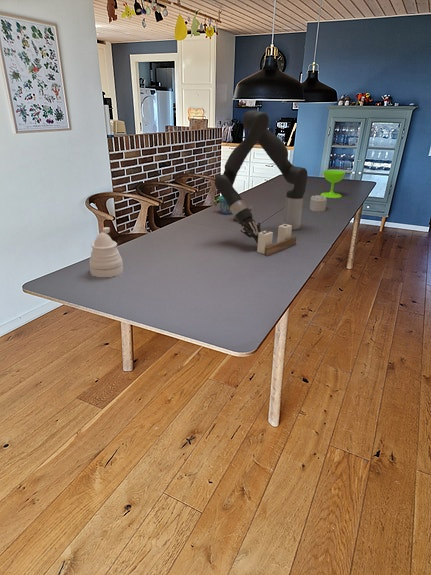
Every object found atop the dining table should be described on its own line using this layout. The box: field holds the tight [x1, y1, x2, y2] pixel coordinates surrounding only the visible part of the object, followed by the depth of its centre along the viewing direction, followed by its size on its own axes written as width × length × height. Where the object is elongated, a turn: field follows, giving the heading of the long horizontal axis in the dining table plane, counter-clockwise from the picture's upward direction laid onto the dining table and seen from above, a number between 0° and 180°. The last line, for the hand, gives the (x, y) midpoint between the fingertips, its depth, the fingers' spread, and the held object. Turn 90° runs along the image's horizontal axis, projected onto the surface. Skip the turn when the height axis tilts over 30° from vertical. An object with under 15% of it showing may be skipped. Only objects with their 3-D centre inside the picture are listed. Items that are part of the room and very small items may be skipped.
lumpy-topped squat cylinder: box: [309, 194, 328, 212], centre depth 259 cm, size 10×13×9 cm
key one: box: [276, 223, 293, 243], centre depth 189 cm, size 4×6×9 cm
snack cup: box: [214, 195, 233, 215], centre depth 246 cm, size 16×10×10 cm
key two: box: [256, 230, 274, 255], centre depth 178 cm, size 4×6×9 cm
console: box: [264, 235, 297, 257], centre depth 186 cm, size 15×24×5 cm, turn 138°
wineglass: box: [320, 169, 346, 199], centre depth 298 cm, size 16×16×18 cm
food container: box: [233, 204, 253, 223], centre depth 229 cm, size 12×6×10 cm, turn 62°
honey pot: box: [88, 226, 124, 277], centre depth 155 cm, size 13×13×18 cm
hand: (260, 242), depth 180 cm, fingers closed
